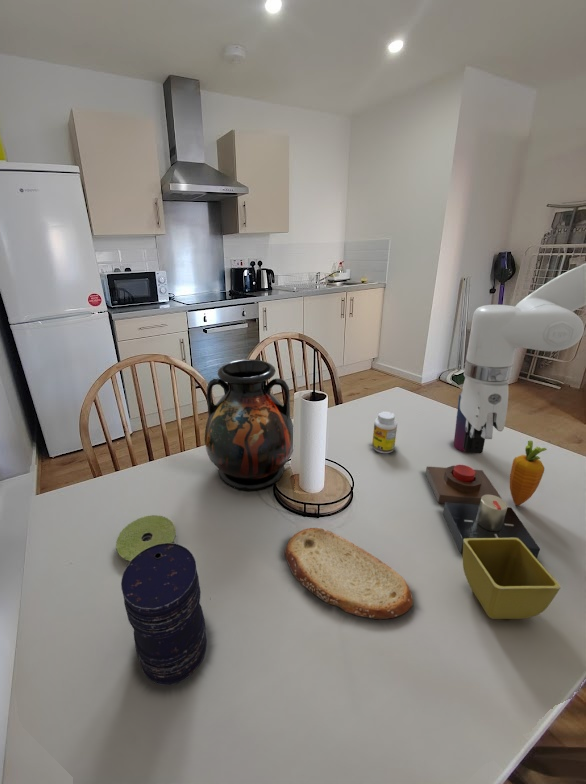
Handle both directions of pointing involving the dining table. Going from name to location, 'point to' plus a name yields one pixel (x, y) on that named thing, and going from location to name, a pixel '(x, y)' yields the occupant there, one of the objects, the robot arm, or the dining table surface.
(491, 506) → the dial
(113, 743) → the dining table surface
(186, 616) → the navy ridged drum
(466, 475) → the button
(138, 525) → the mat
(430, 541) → the dining table surface
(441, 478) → the button block
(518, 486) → the carrot
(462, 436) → the cup
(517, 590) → the flower pot
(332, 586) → the bread slice
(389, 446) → the supplement bottle
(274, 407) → the amphora vase
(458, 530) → the control panel
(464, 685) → the dining table surface
